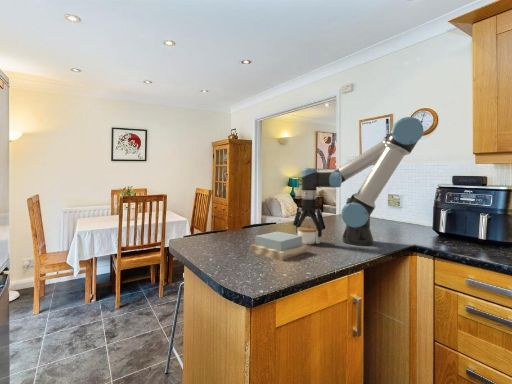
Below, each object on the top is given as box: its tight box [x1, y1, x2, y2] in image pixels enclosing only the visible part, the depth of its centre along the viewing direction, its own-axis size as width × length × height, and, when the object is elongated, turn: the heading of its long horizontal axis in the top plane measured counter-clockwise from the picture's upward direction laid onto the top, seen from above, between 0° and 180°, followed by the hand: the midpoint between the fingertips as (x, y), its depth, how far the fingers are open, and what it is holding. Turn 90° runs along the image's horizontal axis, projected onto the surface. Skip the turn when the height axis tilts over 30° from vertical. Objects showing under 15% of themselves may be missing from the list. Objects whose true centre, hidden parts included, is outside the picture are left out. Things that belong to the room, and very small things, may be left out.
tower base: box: [249, 243, 308, 261], centre depth 124 cm, size 18×18×4 cm
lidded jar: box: [298, 224, 317, 245], centre depth 141 cm, size 11×11×9 cm
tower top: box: [254, 231, 303, 251], centre depth 124 cm, size 15×15×4 cm
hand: (308, 241), depth 141 cm, fingers closed on lidded jar, 11 cm apart
